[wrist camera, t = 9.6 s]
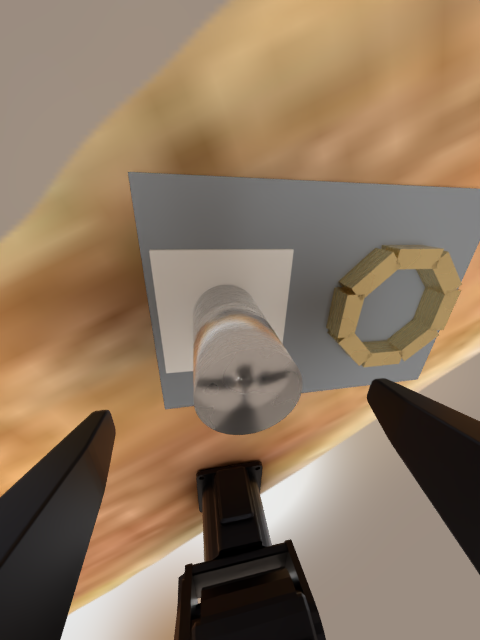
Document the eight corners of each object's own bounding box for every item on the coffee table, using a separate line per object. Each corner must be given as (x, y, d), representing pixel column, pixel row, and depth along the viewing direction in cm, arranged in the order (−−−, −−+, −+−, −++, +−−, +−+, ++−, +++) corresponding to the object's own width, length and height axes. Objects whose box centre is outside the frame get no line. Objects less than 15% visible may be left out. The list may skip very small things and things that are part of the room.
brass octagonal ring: (413, 350, 19) (429, 360, 18) (319, 358, 18) (329, 371, 17) (456, 244, 16) (480, 248, 14) (343, 245, 14) (358, 249, 13)
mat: (278, 360, 17) (280, 362, 17) (166, 370, 16) (166, 373, 16) (291, 248, 14) (293, 249, 14) (149, 249, 12) (148, 250, 12)
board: (408, 372, 22) (417, 379, 21) (166, 399, 18) (164, 409, 17) (484, 190, 16) (502, 190, 15) (132, 174, 12) (127, 171, 11)
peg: (258, 283, 14) (310, 344, 8) (255, 340, 16) (295, 427, 10) (190, 285, 13) (189, 353, 7) (194, 345, 15) (196, 441, 9)
